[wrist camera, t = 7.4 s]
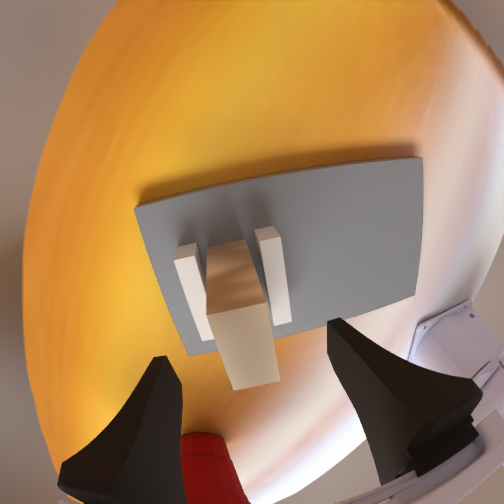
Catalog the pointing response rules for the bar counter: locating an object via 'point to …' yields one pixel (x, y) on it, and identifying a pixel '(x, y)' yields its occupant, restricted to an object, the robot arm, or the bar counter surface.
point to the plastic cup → (209, 471)
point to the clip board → (293, 242)
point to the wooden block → (239, 316)
